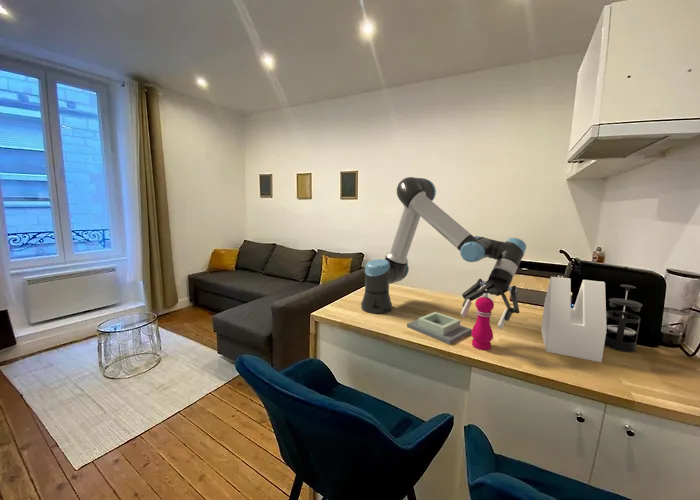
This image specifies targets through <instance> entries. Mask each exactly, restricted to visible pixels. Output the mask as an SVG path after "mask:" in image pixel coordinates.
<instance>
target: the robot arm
mask: <svg viewBox="0 0 700 500" xmlns="http://www.w3.org/2000/svg"><path fill="white" fill-rule="evenodd" d="M436 194H437V190H436V186H435V184H434V183H433V182H432V181H431V180H429V179H427V178H422V177H412V176H409V177H408V176H407V177H405V178H403V179H402V180H400V182H399V183H398V185H397V187H396V196H397V199H399V201H400V202H401V204H402V206H403V207H404V208H403V210H402V211H403V212H402V213H401V217H400V221H399V223H398V227H397V231H396V233H395V236H394V239H393V242H392V245H391V249H390V251H389V252H387V253H386V255H385V257H384V259H382V258H381V259H379V258H378V259H371V260H369V261H368V262H366V263H365V270H364V294H363V297H362V298H363V299H362V301H361V303H360V304H361V305H360V308H361V310H362V311H364V312H367V313H370V314H385V313H386V314H387V313H388V312H390V311H393V303H392V301H391V297H390V285H391V284H394V283H397V282H400V281H402V280H403V279H405V278H406V277H407V276H408V274H409V271H410V268H409V259H408V254H409V251H410V249H411V245H412V242H413V239H414V236H415V234H416V231H417V228H418V225H419V222H420V219H423V220H424V221H426V223H427V224H429V225H430V226H431V227H432V228H433V229H434V230H436V232H437V233H439V234H440V235H441V236H442V237H444V238H445V239H446V240H447V241H448V242H449V243H450V244H451V245H452V246H453V247H455V248H456V249H457V250H458V251H459V254H460V256H461V258H462V259H463V260H464V261H466V262H469V263H475V262H479V261H482V260H483V259H485V258H489V259H492V260H495V261H496V262H495V264H494V266H493V267H492V270H491V272H490V273H489V275H488V279H487V280H486V281H485V280H483V279H482V278H479V279H477V280H476V281H477V282H476V283H474V284H473V285H472V286H470V287H469V288H468V289H467V290H465V291H464V292H463V293H462V294H461V296H462V298H463V302H462V310H461V311H460V315H461V316H462V318H466V316H467V313H468V311H469V310H470V308H471V306H472V305H473V304H472V301H474V300H477V299H478V298H480V297H483V294H484V293H486V294H489V295H495V296H496V297H499V296H501V298H502V299H503V302H504V305H505V307H506V308H507V309H506V308H504V310H503V312H502V315H501V317H500V318H499V321H498V323H497V326H498V329H500V330H503V328H504V326H505V323H506V321H507V322H509V321H510V319H511V317H512V315H513V314H520V308H519V301H518V296H517V294H518V289H517V286H516V285H513V286H511V283H512V281H513V278H514V276H515V275H516V272H517V271H518V268H519V266H520V263H521V262H522V259H523V258H524V256H525V252H526V249H527V244H526V243H525V241H524V240H522V239H520V238H517V237H509V238H508V239H507V240H506V241H500V240H496V239H491V238H488V237H485V236H478V235H475V236H473V234H471V233H470V231H468V230H467V229H466V228H464V227H463V226H462V225H461V224H459V223H458V221H456V220H455V219H453V218H452V217H451V216H450V215H449V214H448V213H446V211H444V210H443V209H442V208H441V207H439V205H437V203H435V202H434V201H433V200H435V198H436ZM508 291H509V292H510V294H511V299H512V305H513V307H512V305H511V304H510V302H509V300H508V298H507V296H506V294H505V293H507V292H508Z"/></svg>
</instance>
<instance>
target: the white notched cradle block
mask: <svg viewBox="0 0 700 500" xmlns="http://www.w3.org/2000/svg"><path fill="white" fill-rule="evenodd" d="M571 281H572V279H571V278H568V277H560V276H550V279H549V282H548V287H547V290H546V295H545V299H544V303H543V313H542V319H541V320H542V321H541V327H540V328H541V329H540V332H541V336H542V339H543V345H544V347H545V352H548V353H553V354H558V355H562V356H567V357H572V358H573V357H574V358H578V359H583V360H588V361H593V362H598V363H602V362H603V356H604V355H603V354H604V350H605V345H604V343H605V337H606V332H607V323H606V316H607V306H606V303H607V300H606V296H607V295H606V282H605V281H600V280H599V281H597V280H590V279H582V282H581V285H580V287H579V291H578V294H577V296H576V300H575V303H574V306H573V308H572V307H571V300H572V299H571V288H572V286H571V284H572V283H571Z"/></svg>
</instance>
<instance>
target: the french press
mask: <svg viewBox="0 0 700 500" xmlns="http://www.w3.org/2000/svg"><path fill="white" fill-rule="evenodd" d="M619 286H620V287H622V288H624V289H625V298H619V297H618V298H617V297H611V298H609V299H608V301H609V307H611V308H616V307H623V310H608V311H607V310H606V326H607V330H608V331H607V330H606V337H605V343H604V347H607V348H610V349H613V350H615V351H617V352H618V351H619V352H624V353H635V352H636V351H637V347H636V345H637V341H638V335H639V329H640V324H641V317H640V316H639V315H637V314H634V313H631V312H628V311H625V310H626V307H627V308H629V309H631V310H633V311H634V312H637V313H638V312H640V311H641V308H642V307H643V306H644V305H643V304H642V303H641V302H638V301H635V300H633V299H632V300H631V299H627V298H628V292H630V289H637V287H636V286H634V285H630V284H620V285H619ZM615 315H619V316H615ZM627 317H628V318H627ZM629 317H630V318H632V319H630V318H629ZM608 318H610V319H612V320H614V321H617V322H618V324H616V325H615V324H607V322H608ZM626 323H627V324H638V325H637V329H636V330H637V331H636V330H634V329H632V328H629V327H626ZM634 336H635V338H634Z"/></svg>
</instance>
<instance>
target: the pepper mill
mask: <svg viewBox="0 0 700 500" xmlns="http://www.w3.org/2000/svg"><path fill="white" fill-rule="evenodd" d="M488 294H489V293H488ZM488 294H486V293H484V294H483V295H482V296H480V297H478V298H476V299H475V308H476V311H475V313H476V316H477V318H476V321H475V324H474V326H473V327H472V328H471V329H472V333H470V335H471V337H472V340H471V346H472V347H473V348H475V349H477V350H480V349H481V351H488V350H491V347H492V343H491V341H492V340H493V339H494V332H493V330H492V326H491V322H490V319H491V317H492V313H493V312H492V310H493V309H494V308H495V304H494V301H493V300H492V299H491V298H489V295H488Z"/></svg>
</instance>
